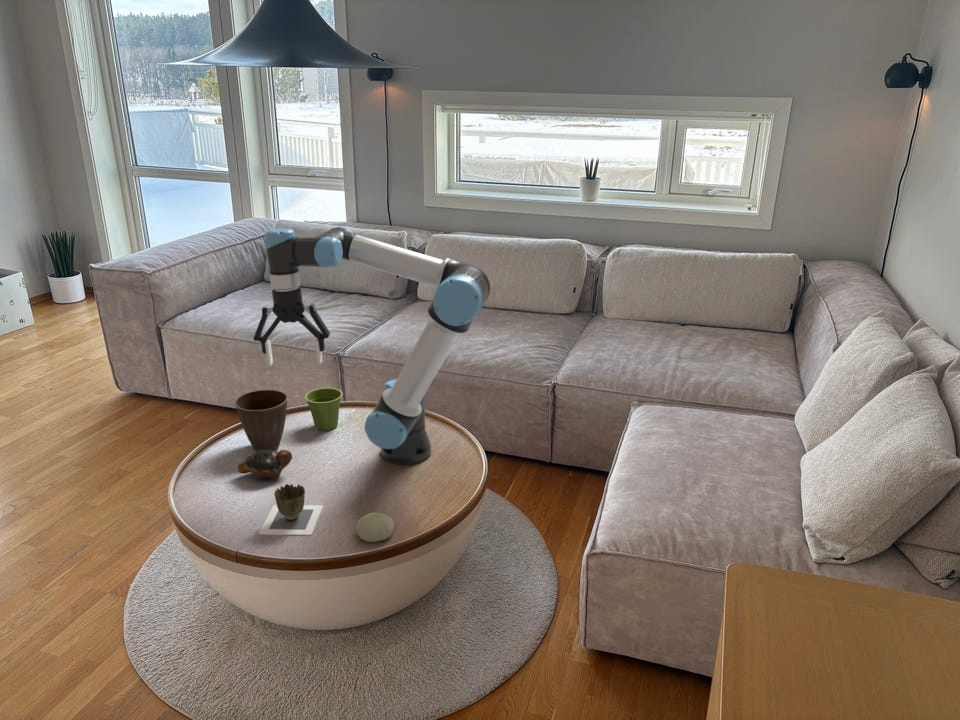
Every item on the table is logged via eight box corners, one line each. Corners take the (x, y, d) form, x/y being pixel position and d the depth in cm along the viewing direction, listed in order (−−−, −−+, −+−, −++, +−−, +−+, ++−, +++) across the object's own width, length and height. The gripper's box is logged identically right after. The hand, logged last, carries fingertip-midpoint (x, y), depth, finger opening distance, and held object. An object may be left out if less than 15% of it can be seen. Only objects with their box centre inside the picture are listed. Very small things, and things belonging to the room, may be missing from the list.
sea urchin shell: (397, 537, 172) (372, 517, 169) (374, 557, 173) (349, 538, 171) (398, 515, 180) (374, 497, 178) (376, 535, 182) (353, 517, 179)
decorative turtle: (294, 481, 199) (290, 456, 196) (238, 490, 197) (233, 465, 193) (295, 463, 208) (291, 439, 205) (241, 471, 205) (236, 447, 202)
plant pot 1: (291, 456, 213) (287, 407, 207) (239, 461, 209) (233, 412, 204) (291, 434, 226) (287, 387, 221) (242, 439, 223) (236, 392, 217)
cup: (312, 512, 184) (309, 485, 181) (299, 528, 177) (296, 500, 174) (285, 508, 185) (282, 481, 183) (271, 524, 179) (268, 496, 176)
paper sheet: (323, 506, 187) (323, 505, 187) (311, 535, 175) (311, 534, 175) (273, 505, 187) (273, 504, 187) (258, 534, 175) (258, 533, 175)
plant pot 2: (308, 420, 236) (305, 388, 232) (344, 417, 238) (342, 386, 234) (306, 436, 225) (303, 403, 221) (344, 433, 227) (342, 401, 223)
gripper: (335, 283, 193) (342, 356, 200) (243, 286, 193) (253, 360, 200) (330, 289, 186) (338, 366, 193) (234, 293, 186) (246, 369, 193)
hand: (295, 363), depth 196 cm, fingers open, 13 cm apart
